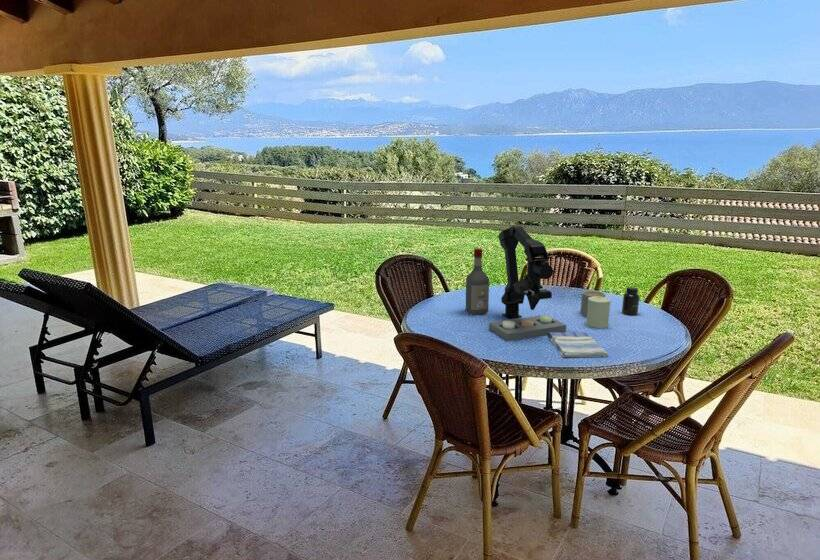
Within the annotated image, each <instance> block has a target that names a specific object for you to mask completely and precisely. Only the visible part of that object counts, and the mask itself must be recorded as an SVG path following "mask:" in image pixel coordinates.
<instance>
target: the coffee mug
mask: <svg viewBox="0 0 820 560" xmlns="http://www.w3.org/2000/svg"><path fill="white" fill-rule="evenodd" d="M592 296H601V297H606V293H605V292H603V291H600V290H591V289H590V290H584V291H582V292H581V303H580V315H581V314H582V315H581V316H583V317H586V318H587V311H588V298H589V297H592Z"/></svg>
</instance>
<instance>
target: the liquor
mask: <svg viewBox="0 0 820 560" xmlns="http://www.w3.org/2000/svg"><path fill="white" fill-rule="evenodd" d="M473 258H474V259H473V268H472V269H473V270H472V271H471V272H470V273H469V274H468V275H467V276H466V279H465V312H466V311H467V312H468V313H467V312H466V313H467V314H469V313H470V314H469V315H471V314H472V315H471V316H475V315H478V316H482V315H481V314H485V315H486V313H487V314H488V312H489V304H490V303H489V297H490V295H489V294H490V278H489V276H488V275H487V274H486V272H485V271H484V270H483V267H482V266H483V263H482V262H483V248H474V249H473Z"/></svg>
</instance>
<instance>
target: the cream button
mask: <svg viewBox="0 0 820 560" xmlns="http://www.w3.org/2000/svg"><path fill="white" fill-rule="evenodd" d="M506 320H507V321H504V320H502V321H503V326H502V328H504V329H505V330H509V329H515V322H514V321H508V320H509V319H506Z"/></svg>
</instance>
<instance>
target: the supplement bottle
mask: <svg viewBox="0 0 820 560" xmlns="http://www.w3.org/2000/svg"><path fill="white" fill-rule="evenodd" d="M638 292H639V287H635V286H627V287H626V289H625V293H624V294H623V295H622V296H623V297H622V306H621V313H622V314H623V313H624V314H623V315H626V314H627V315H626V316H637V315H638V313H639V305H640V295H639V294H638Z"/></svg>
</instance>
